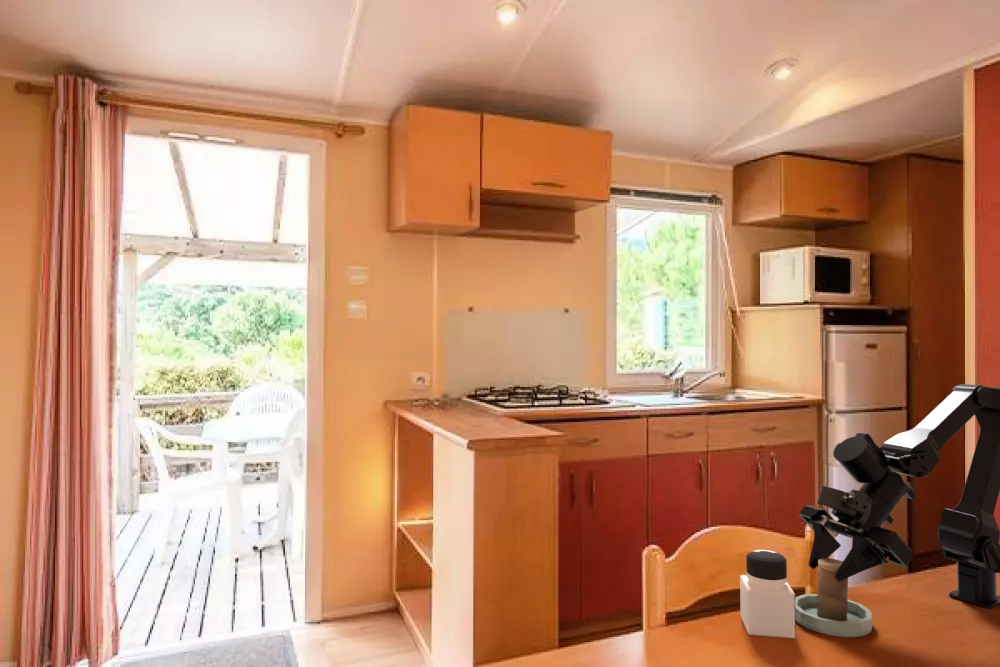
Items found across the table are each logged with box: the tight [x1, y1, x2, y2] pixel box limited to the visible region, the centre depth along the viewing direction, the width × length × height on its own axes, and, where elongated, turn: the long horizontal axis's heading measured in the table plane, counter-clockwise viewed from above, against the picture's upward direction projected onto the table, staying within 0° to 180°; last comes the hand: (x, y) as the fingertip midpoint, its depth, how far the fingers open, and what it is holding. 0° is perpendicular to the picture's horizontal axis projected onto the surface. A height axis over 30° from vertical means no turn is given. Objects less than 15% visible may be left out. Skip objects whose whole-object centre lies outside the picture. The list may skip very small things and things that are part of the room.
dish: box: [795, 593, 873, 638], centre depth 105 cm, size 12×12×2 cm
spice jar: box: [816, 557, 849, 621], centre depth 105 cm, size 4×4×9 cm
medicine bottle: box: [739, 549, 797, 639], centre depth 103 cm, size 7×7×12 cm
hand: (823, 572), depth 104 cm, fingers open, 5 cm apart
